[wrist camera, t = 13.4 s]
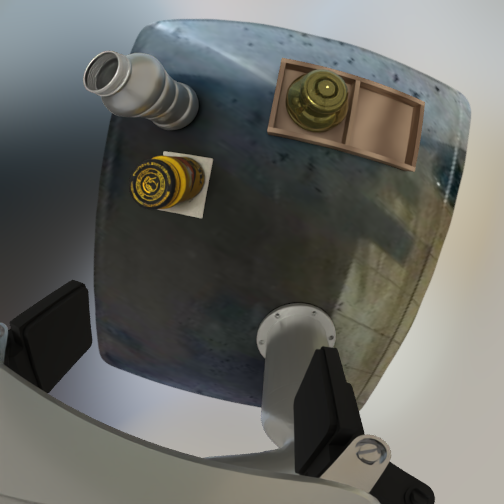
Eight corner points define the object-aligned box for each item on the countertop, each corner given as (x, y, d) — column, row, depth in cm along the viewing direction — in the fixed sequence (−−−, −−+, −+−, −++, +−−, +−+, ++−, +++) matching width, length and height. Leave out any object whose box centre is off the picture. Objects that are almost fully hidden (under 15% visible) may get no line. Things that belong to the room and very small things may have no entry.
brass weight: (306, 71, 31) (315, 42, 21) (351, 105, 32) (376, 86, 22) (273, 111, 33) (272, 92, 24) (320, 145, 34) (336, 138, 24)
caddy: (413, 106, 31) (424, 102, 28) (403, 170, 35) (414, 171, 31) (281, 66, 32) (281, 57, 29) (268, 134, 35) (267, 131, 32)
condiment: (213, 158, 37) (186, 156, 25) (202, 218, 39) (173, 240, 28) (164, 151, 37) (122, 148, 25) (155, 208, 39) (113, 226, 28)
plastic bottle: (150, 115, 35) (58, 89, 16) (180, 79, 33) (107, 24, 14) (180, 141, 36) (97, 126, 17) (212, 104, 34) (153, 54, 15)
